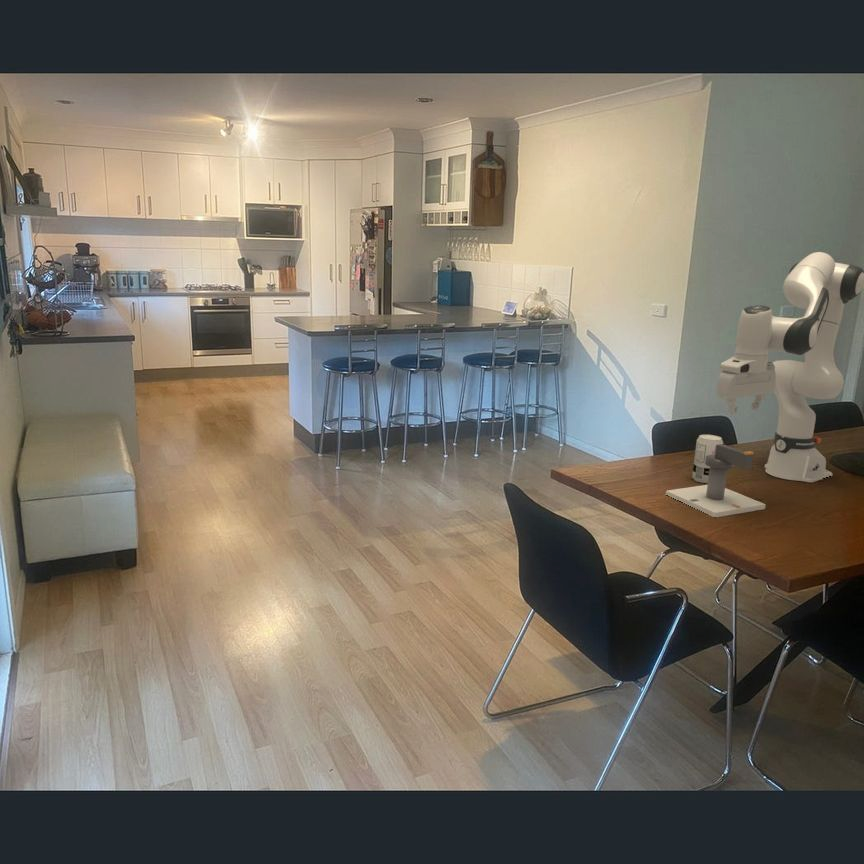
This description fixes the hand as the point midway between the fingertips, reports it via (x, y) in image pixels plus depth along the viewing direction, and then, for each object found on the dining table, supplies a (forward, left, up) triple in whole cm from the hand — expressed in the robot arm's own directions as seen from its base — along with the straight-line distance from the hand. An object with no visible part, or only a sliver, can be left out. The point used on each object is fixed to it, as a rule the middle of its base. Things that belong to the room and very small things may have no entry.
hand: (744, 410), depth 203 cm
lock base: (+2, -4, -29) cm, 30 cm away
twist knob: (+2, -1, -18) cm, 18 cm away
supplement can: (-11, -21, -30) cm, 38 cm away
